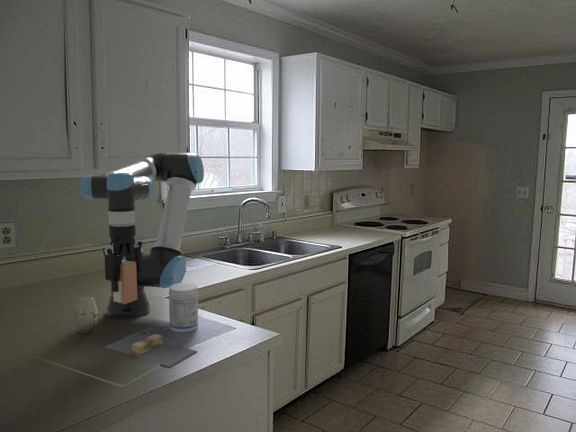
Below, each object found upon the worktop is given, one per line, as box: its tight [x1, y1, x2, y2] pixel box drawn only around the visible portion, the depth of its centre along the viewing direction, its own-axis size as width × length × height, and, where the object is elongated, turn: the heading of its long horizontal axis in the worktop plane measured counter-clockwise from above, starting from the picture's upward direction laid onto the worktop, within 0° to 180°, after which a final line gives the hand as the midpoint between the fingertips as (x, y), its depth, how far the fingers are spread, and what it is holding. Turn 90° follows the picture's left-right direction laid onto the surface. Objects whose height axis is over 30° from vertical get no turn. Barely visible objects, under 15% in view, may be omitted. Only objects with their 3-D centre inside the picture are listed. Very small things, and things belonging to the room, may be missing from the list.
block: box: [113, 260, 137, 304], centre depth 147 cm, size 5×5×12 cm
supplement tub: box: [168, 282, 199, 333], centre depth 162 cm, size 10×10×15 cm
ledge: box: [131, 333, 164, 355], centre depth 145 cm, size 10×3×3 cm, turn 152°
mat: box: [104, 333, 198, 369], centre depth 145 cm, size 12×26×1 cm, turn 62°
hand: (125, 298), depth 148 cm, fingers closed on block, 5 cm apart
